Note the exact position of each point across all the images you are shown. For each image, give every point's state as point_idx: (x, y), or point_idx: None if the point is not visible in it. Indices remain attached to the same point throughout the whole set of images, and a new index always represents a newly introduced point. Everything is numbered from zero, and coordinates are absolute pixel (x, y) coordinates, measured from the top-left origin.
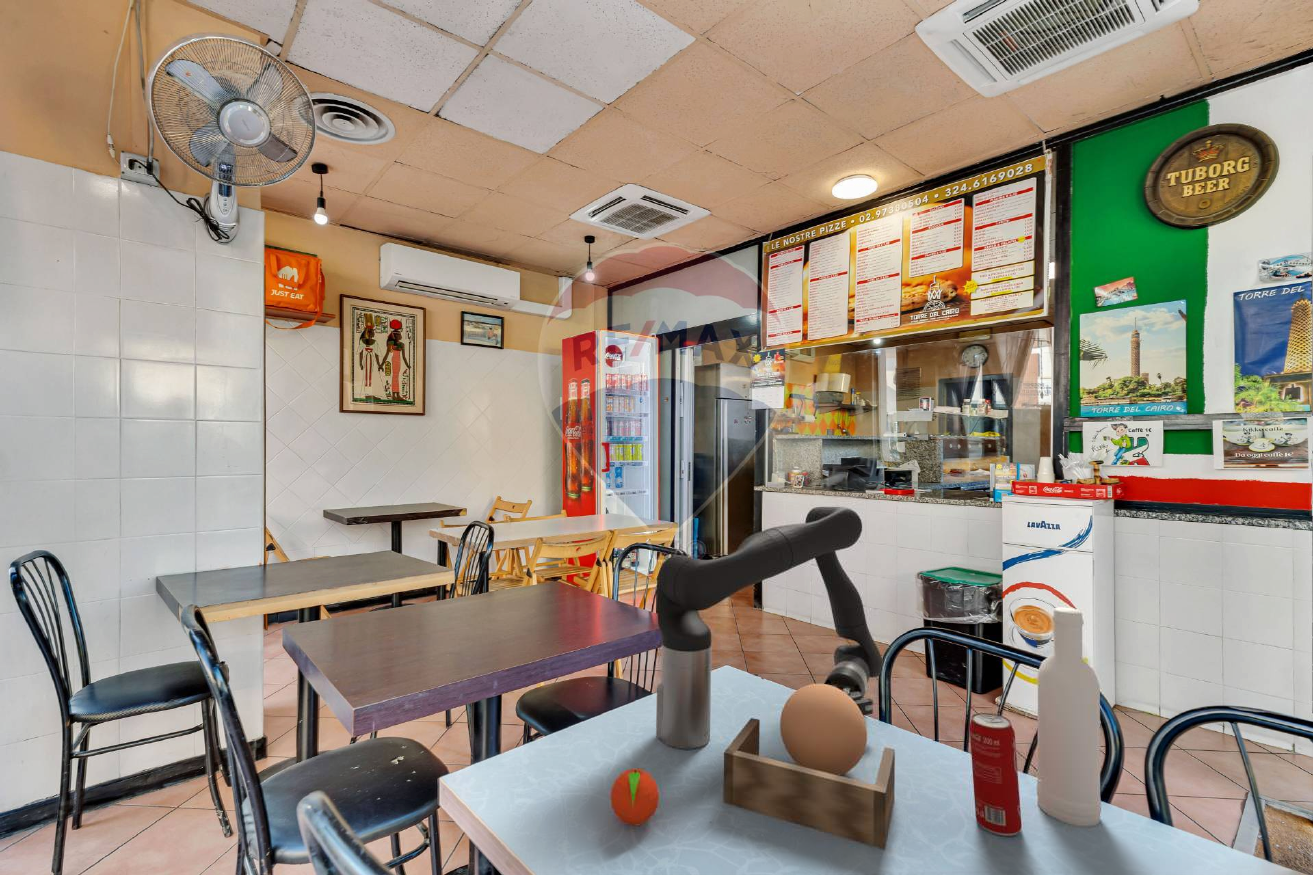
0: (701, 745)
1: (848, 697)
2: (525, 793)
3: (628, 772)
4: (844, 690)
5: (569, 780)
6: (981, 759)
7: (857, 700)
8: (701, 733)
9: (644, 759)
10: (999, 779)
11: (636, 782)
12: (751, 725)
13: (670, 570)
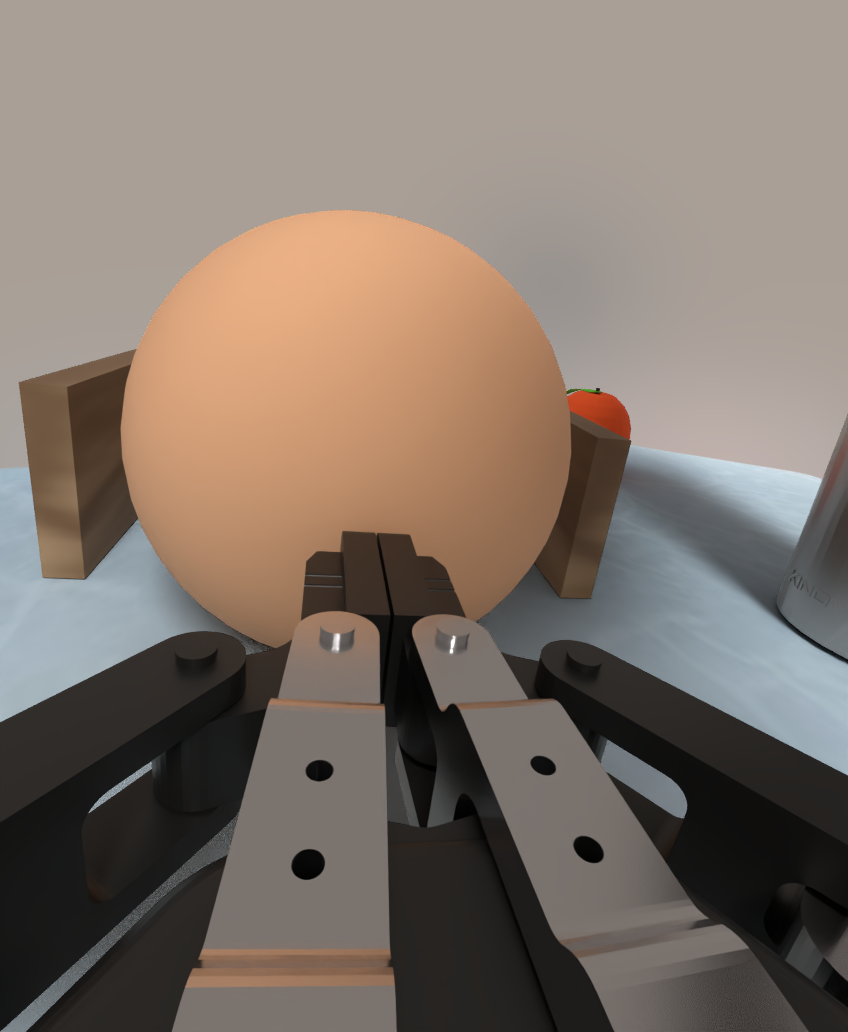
0: (780, 608)
1: (230, 241)
2: (744, 478)
3: (606, 394)
4: (334, 968)
5: (754, 496)
6: None
7: (22, 807)
8: (795, 567)
9: (775, 548)
10: None
11: (575, 389)
12: (583, 425)
13: None
